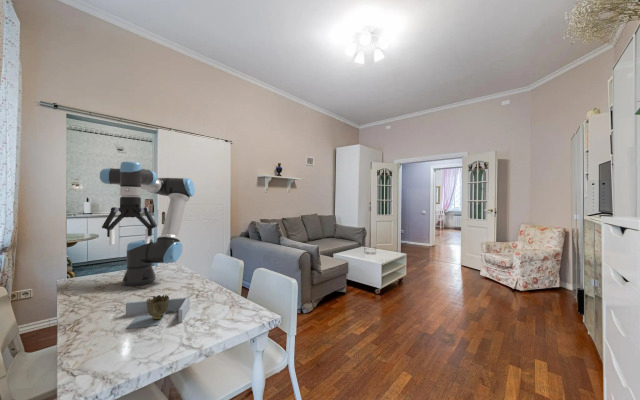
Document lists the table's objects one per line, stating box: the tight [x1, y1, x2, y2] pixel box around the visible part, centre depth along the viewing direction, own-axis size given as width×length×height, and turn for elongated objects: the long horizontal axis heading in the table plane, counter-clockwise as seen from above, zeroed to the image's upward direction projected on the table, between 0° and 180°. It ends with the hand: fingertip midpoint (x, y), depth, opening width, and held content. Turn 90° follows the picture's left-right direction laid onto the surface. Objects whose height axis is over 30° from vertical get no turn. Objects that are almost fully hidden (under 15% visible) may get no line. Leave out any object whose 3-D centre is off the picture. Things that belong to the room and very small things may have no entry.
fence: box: [125, 296, 191, 324], centre depth 99 cm, size 13×23×5 cm, turn 105°
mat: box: [125, 312, 167, 330], centre depth 97 cm, size 10×10×1 cm
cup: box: [146, 294, 170, 320], centre depth 98 cm, size 8×7×8 cm
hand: (130, 244), depth 112 cm, fingers open, 13 cm apart
